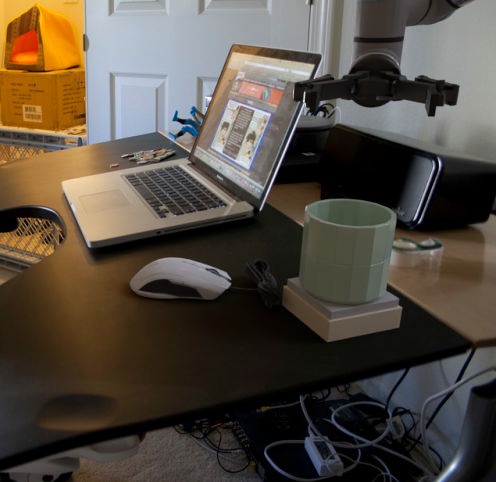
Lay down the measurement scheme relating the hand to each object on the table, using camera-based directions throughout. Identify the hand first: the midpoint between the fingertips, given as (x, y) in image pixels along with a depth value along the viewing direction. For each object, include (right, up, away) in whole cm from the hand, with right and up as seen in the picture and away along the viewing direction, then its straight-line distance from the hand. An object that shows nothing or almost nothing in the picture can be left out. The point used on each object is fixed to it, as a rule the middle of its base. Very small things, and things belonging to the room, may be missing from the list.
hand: (371, 103), depth 78 cm
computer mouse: (-21, -23, +1) cm, 31 cm away
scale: (-6, -25, -6) cm, 27 cm away
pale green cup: (-6, -22, -7) cm, 24 cm away
